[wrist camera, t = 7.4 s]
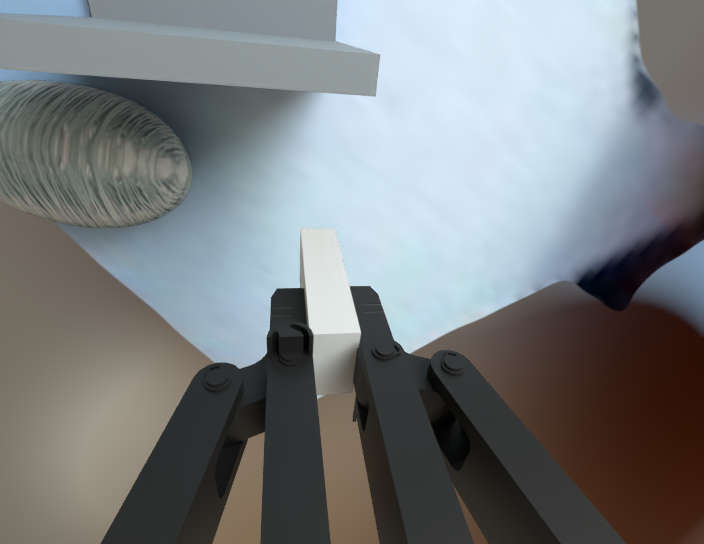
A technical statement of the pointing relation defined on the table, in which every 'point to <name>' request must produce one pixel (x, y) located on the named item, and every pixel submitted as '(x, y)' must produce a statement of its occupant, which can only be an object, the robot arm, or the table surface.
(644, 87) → the table surface
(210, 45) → the grey screen
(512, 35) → the table surface
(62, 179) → the grey streaked ovoid
